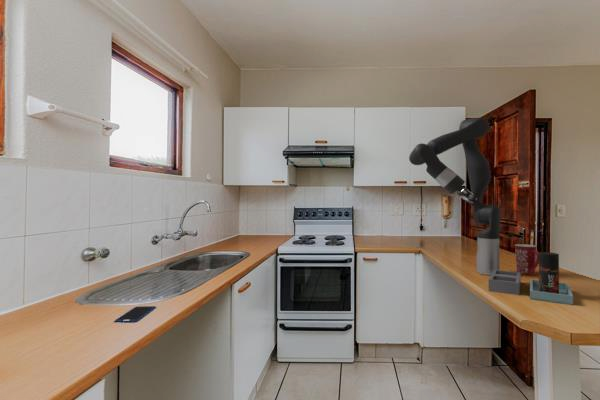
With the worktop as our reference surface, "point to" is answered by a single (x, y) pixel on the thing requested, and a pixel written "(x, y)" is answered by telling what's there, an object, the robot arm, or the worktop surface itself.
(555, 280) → the deodorant
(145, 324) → the worktop surface
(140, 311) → the cell phone
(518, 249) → the mug
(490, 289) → the holder
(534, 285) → the tray
